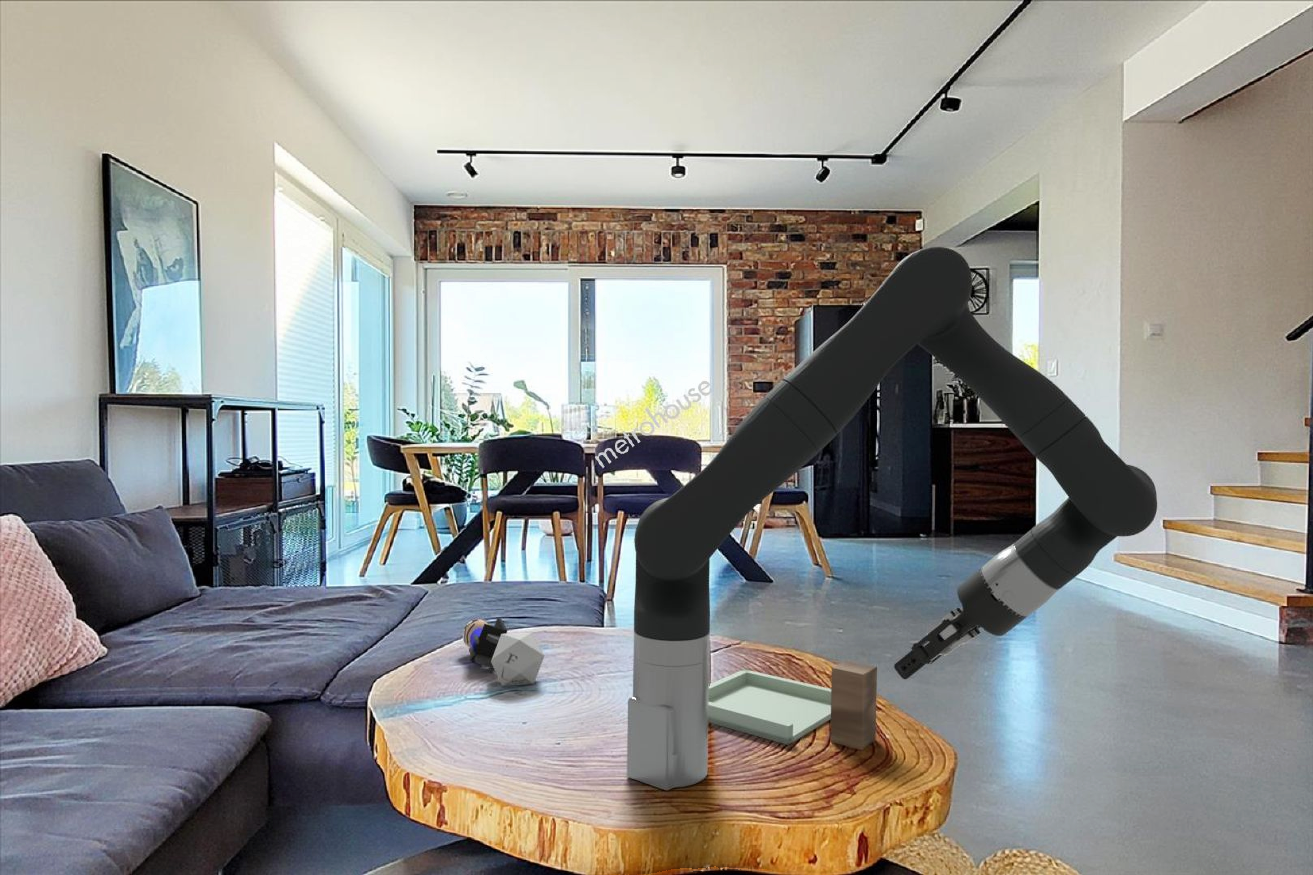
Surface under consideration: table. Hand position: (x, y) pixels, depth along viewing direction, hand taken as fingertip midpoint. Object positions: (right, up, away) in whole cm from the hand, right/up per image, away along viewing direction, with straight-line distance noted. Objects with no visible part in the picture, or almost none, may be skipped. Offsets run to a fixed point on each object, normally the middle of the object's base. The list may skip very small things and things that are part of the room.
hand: (912, 665), depth 106 cm
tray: (-17, -11, +16) cm, 26 cm away
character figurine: (-63, -10, +39) cm, 75 cm away
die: (-56, -11, +28) cm, 63 cm away
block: (-6, -12, +5) cm, 14 cm away
